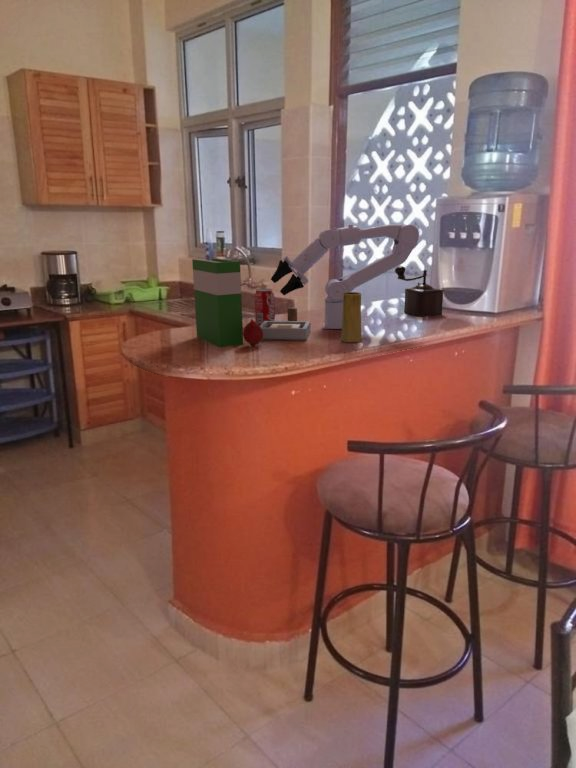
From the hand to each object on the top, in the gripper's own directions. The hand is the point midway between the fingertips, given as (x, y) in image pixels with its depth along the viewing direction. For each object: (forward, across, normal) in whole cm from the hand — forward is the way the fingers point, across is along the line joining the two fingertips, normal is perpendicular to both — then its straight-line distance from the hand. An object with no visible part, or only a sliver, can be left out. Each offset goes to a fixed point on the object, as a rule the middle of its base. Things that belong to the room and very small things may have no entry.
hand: (277, 287), depth 187 cm
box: (+8, +18, +1) cm, 19 cm away
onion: (+15, +25, -12) cm, 31 cm away
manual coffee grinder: (-30, +8, +50) cm, 59 cm away
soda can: (+13, -3, +11) cm, 17 cm away
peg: (+6, +10, +10) cm, 15 cm away
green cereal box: (+23, +14, -12) cm, 29 cm away
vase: (-7, +33, +7) cm, 35 cm away
